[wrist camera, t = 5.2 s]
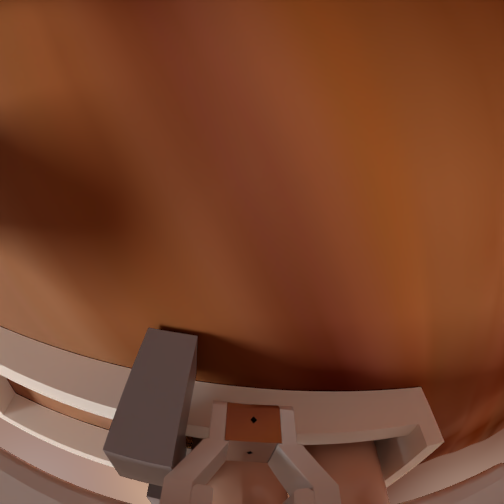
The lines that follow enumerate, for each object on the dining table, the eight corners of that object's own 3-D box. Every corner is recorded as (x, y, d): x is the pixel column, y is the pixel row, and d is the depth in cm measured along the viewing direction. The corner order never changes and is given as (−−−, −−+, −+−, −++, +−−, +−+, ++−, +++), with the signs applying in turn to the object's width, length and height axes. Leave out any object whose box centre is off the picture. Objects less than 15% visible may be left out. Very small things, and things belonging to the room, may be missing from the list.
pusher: (197, 335, 11) (171, 467, 6) (195, 451, 16) (186, 523, 11) (148, 327, 11) (102, 449, 6) (166, 446, 16) (152, 517, 11)
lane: (420, 386, 14) (444, 441, 10) (358, 458, 18) (366, 500, 14) (-35, 310, 12) (-66, 346, 8) (11, 396, 16) (-7, 430, 13)
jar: (293, 412, 14) (305, 568, 6) (273, 450, 16) (277, 569, 8) (194, 403, 14) (172, 563, 6) (194, 443, 16) (180, 564, 8)
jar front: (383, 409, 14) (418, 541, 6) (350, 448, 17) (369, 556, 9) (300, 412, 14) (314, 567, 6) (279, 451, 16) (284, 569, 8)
